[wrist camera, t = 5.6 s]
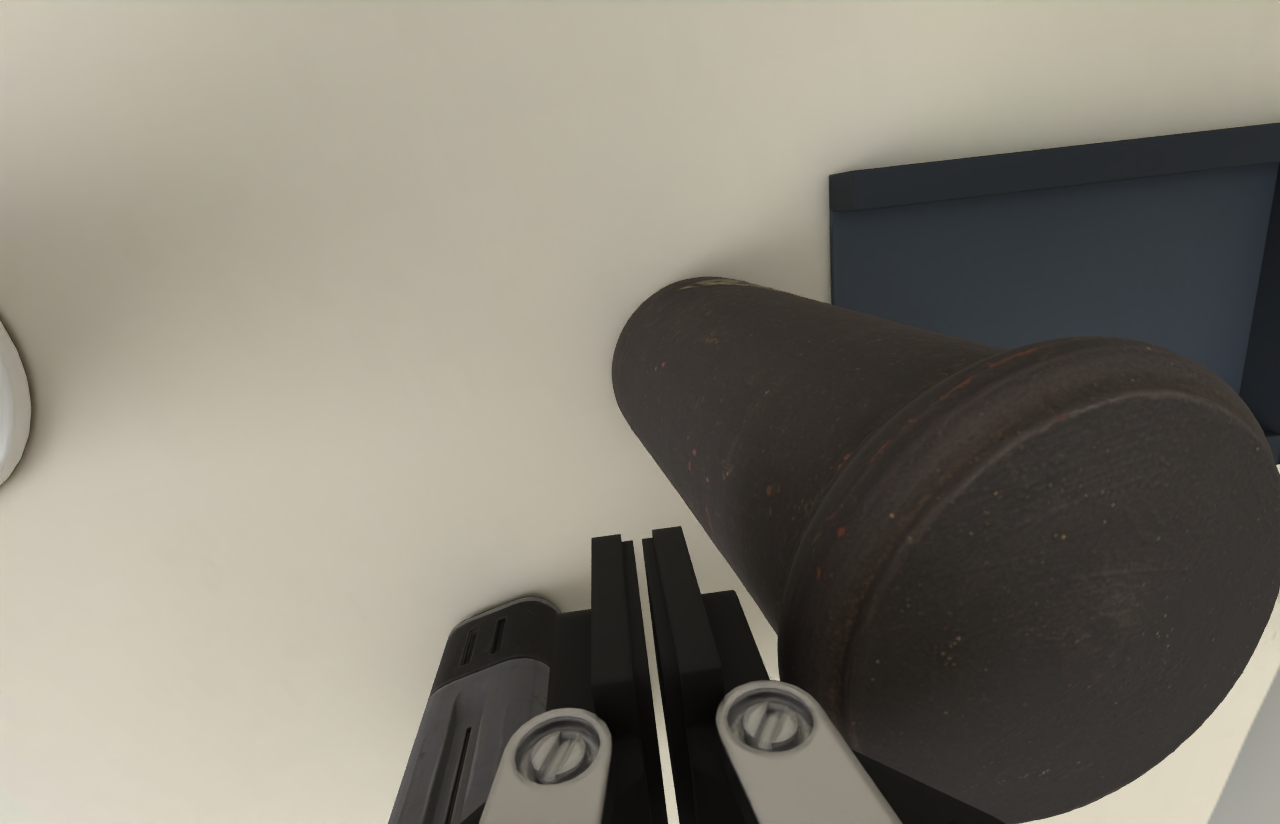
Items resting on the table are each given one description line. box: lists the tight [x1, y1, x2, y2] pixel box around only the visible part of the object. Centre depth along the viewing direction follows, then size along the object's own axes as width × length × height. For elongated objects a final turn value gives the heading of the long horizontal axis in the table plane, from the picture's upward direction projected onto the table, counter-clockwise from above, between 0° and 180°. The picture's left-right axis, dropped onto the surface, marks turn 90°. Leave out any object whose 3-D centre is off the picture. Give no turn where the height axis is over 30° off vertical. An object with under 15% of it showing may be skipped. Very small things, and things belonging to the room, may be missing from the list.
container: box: [612, 277, 1280, 824], centre depth 19 cm, size 9×9×20 cm
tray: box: [829, 123, 1280, 465], centre depth 28 cm, size 22×15×2 cm
